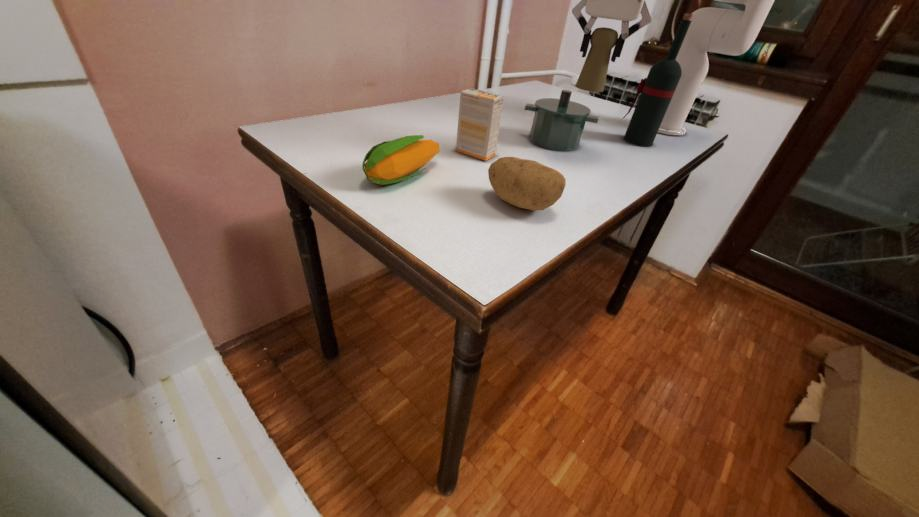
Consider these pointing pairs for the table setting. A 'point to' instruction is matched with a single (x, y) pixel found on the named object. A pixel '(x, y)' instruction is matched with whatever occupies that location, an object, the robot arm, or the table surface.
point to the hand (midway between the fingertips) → (598, 57)
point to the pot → (557, 129)
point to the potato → (526, 183)
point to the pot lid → (563, 106)
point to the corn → (398, 159)
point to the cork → (597, 60)
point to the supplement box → (478, 123)
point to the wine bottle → (656, 93)
